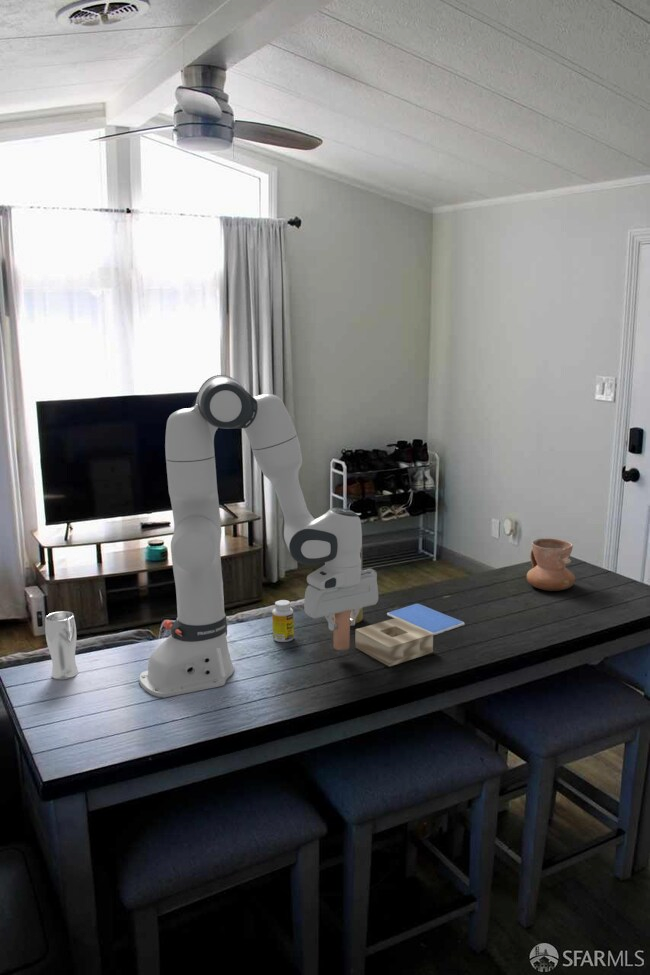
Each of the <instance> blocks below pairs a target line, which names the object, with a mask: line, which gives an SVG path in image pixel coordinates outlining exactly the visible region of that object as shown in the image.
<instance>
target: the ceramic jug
mask: <svg viewBox="0 0 650 975" xmlns="http://www.w3.org/2000/svg"><path fill="white" fill-rule="evenodd" d="M573 547H574V546H573V543H572V542H569V541H566V540H562V539H558V538H550V537H549V538H536V539H533V540H532V541H531V551H530V554H529V557H530V562H531V566H532V568H530V569H529V570H528V571H527V573H526V580H527V582H528V583H529V584H530V585H531V586H532V587H534V588H536V589H539V590H542V591H547V592H558V591H565V590H567V589H569V588H571V587H572V586H573V585H574V584H575V582H576V576H575V574H573V572H572V571H571V570H570V569H568V568H567V567H566V565H568V564H570V563H571V562H572V560H571V559H570V556H571V555H572V552H573Z"/></svg>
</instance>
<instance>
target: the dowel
mask: <svg viewBox="0 0 650 975" xmlns="http://www.w3.org/2000/svg"><path fill="white" fill-rule="evenodd" d="M333 621H334V622H336V623H337V630H333V640H332V642H333V645H332V646H333V649H334V650H337V651H338V650H339V651H346V650H349V649H350V639H351V638H350V636H351V633H350V632H351V630H350V629H351V626H350V610H348V611H344V612H340V613H336V614H334V618H333Z"/></svg>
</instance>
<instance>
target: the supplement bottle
mask: <svg viewBox="0 0 650 975" xmlns="http://www.w3.org/2000/svg"><path fill="white" fill-rule="evenodd" d="M271 612H272V613H271V614H272V637H273V640H274V641H275V642H279V643H287V642H290V641H292V640H294V637H295V633H294V632H295V631H294V629H295V628H294V626H295V625H294V610H293V608H292V607H291V602H290V601H289V600H286V599H280V600H277V601H275V602H274V608H273V609H272V611H271Z"/></svg>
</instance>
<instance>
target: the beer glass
mask: <svg viewBox="0 0 650 975" xmlns="http://www.w3.org/2000/svg"><path fill="white" fill-rule="evenodd" d="M44 625H45V629H44V630H45V631H44V632H45V640H46V643H47V648H48V650H49V655H50V657H51V663H52V668H51V670H52V671H51V677H52V679H54V680H58V681H59V680H61V681H63V680H64V681H65V680H68V679H69V680H70V679H73V678H74V677H76V676H77V675H78V673H79V670H78V666H77V662H76V648H77V627H76V626H77V625H76V620H75V614H74V613H73V612H71V611H66V610H63V611H62V610H61V611H55V612H51V613H49V614H48V615H46V616H45V617H44Z"/></svg>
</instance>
